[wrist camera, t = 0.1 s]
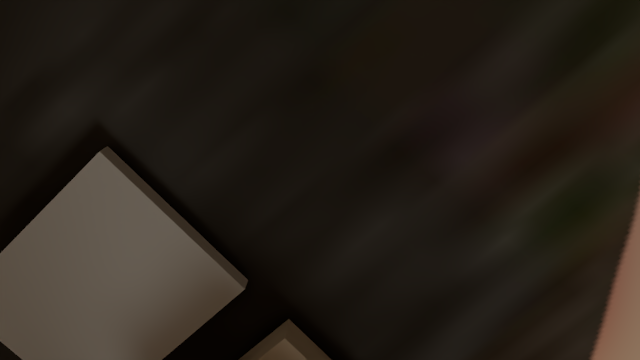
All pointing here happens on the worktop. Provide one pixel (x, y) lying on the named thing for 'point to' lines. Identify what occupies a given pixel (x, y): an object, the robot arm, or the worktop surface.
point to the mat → (109, 273)
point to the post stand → (286, 346)
